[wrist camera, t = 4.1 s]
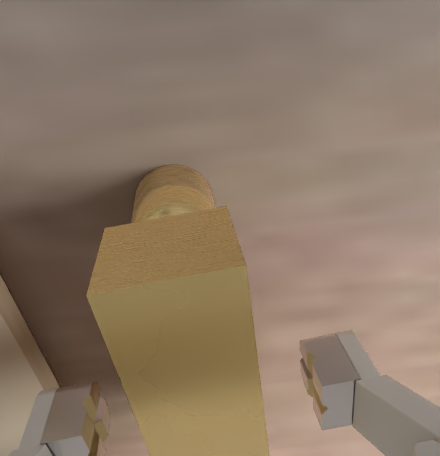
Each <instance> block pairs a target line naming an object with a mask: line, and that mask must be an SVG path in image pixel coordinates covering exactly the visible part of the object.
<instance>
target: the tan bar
mask: <svg viewBox="0 0 440 456" xmlns="http://www.w3.org/2000/svg"><path fill="white" fill-rule="evenodd" d="M86 296H87V299H88V301H89V304H90V306H91V309H92V311H93V314H94V316H95V319H96V321H97V324H98V326H99V329H100V331H101V334H102V336H103V339H104V341H105V344H106V346H107V349H108V351H109V354H110V356H111V359H112V361H113V364H114V366H115V369H116V371H117V374H118V376H119V379H120V381H121V384H122V386H123V389H124V391H125V393H126V396H127V398H128V401H129V403H130V406H131V408H132V411H133V413H134V416H135V418H136V421H137V423H138V426H139V428H140V431H141V433H142V436H143V438H144V441H145V443H146V446H147V448H148V451H149V453H150V456H270V455H269V447H268V439H267V431H266V423H265V414H264V406H263V398H262V390H261V382H260V374H259V365H258V357H257V349H256V341H255V333H254V325H253V316H252V308H251V300H250V292H249V284H248V276H247V267H246V263H245V260H244V257H243V254H242V251H241V248H240V245H239V242H238V239H237V236H236V233H235V230H234V227H233V224H232V221H231V218H230V215H229V212H228V209H227V206H224V207H218V208H216V207H215V203H214V199H213V196H212V192H211V189H210V186H209V184H208V183H207V181H206V180H205V179H204V177H203V176H202V175H201V174H199V173H198V172H197V171H195V170H193V169H191V168H189V167H186V166H181V165H166V166H162V167H159V168H156V169H155V170H153V171H151V172H150V173H148V174H147V175H146V176H145V177H144V178H143V179H142V181H141V182H140V184H139V185H138V188H137V190H136V194H135V201H134V207H133V214H132V220H131V223H130V224H124V225H119V226H113V227H107V228H105V229H104V233H103V236H102V240H101V244H100V247H99V251H98V254H97V258H96V262H95V265H94V269H93V273H92V276H91V280H90V284H89V287H88V291H87V294H86Z"/></svg>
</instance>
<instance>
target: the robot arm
mask: <svg viewBox="0 0 440 456" xmlns="http://www.w3.org/2000/svg"><path fill="white" fill-rule="evenodd" d="M300 351H301V354H302V356H303V358H302V359H301V360H300V363H301V372H302V377H303V381H304V384H305V387H306V390H307V392H308V394H309V395H310V396H312V397H313V408H314V411H315V413H316V416H317V419H318V421H319V424H320V426H321V429H322V430H326V429H332V428H337V427H343V426H349V425H353V427H354V428H355V429H356V430H357V431H358V432H359V433H361V434H362V435H363V436H364V437H365V438H366V439H367V440H368V441H370V442H371V443H372V444H373V445H374V446H375V447H376V448H378V449H379V450H380V451H381V452H382V453H383V454H384V455H385V456H440V407H438V406H437V405H435V404H434V403H432V402H430V401H429V400H427V399H425V398H424V397H422V396H420V395H419V394H417V393H415V392H414V391H412V390H410V389H409V388H407V387H406V386H404V385H402V384H401V383H399V382H397V381H396V380H394V379H392V378H391V377H389V376H387V375H382V376H381V375H380V373H379V372H378V370H377V368H376V367H375V365H374V363H373V362H372V360H371V359H370V357H369V355H368V354H367V352H366V350H365V349H364V347H363V345H362V344H361V342H360V341H359V339H358V337H357V336H356V334H355V332H353V331H352V330H349V331H344V332H339V333H335V334H328V335H323V336H319V337H314V338H309V339H304V340H300ZM100 390H101V389H100V387H99V385H98V383H97V382H89V383H83V384H77V385H71V386H65V387H60V388H55V389H49V390H44V391H40V392H39V394H38V395H37V396H36V399H35V402H34V405H33V408H32V411H31V413H30V416H29V419H28V422H27V425H26V428H25V431H24V434H23V437H22V440H21V443H20V446H19V449H18V450H14V451H12V452H11V453H10V454H9V455H8V456H106V451H107V450H106V448H105V446H104V444H103V442H104V440H105V439H106V437H107V436H108V435H109V428H110V414H109V409H108V405H107V402H106V400H105V399H103V398H101V397H100Z"/></svg>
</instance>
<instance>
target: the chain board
mask: <svg viewBox="0 0 440 456" xmlns="http://www.w3.org/2000/svg"><path fill="white" fill-rule="evenodd" d="M55 388H60V387H59V385H58V383H57V381H56V379H55V377H54V375H53V373H52V371H51V370H50V368H49V366H48V364H47V362H46V360H45V358H44V356H43V354H42V353H41V351H40V349H39V347H38V345H37V343H36V341H35V339H34V337H33V336H32V334H31V332H30V330H29V328H28V326H27V324H26V322H25V320H24V319H23V317H22V315H21V313H20V311H19V309H18V307H17V305H16V303H15V302H14V300H13V298H12V296H11V294H10V292H9V290H8V288H7V286H6V285H5V283H4V281H3V279H2V277H1V275H0V456H8V455H9V454H10V453H11V452H12V451H14V450H18V449H19V446H20V443H21V440H22V437H23V434H24V431H25V428H26V425H27V422H28V419H29V416H30V413H31V411H32V408H33V405H34V402H35V399H36V396H37V395H38V394H39V392H40V391H44V390H49V389H55Z"/></svg>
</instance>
